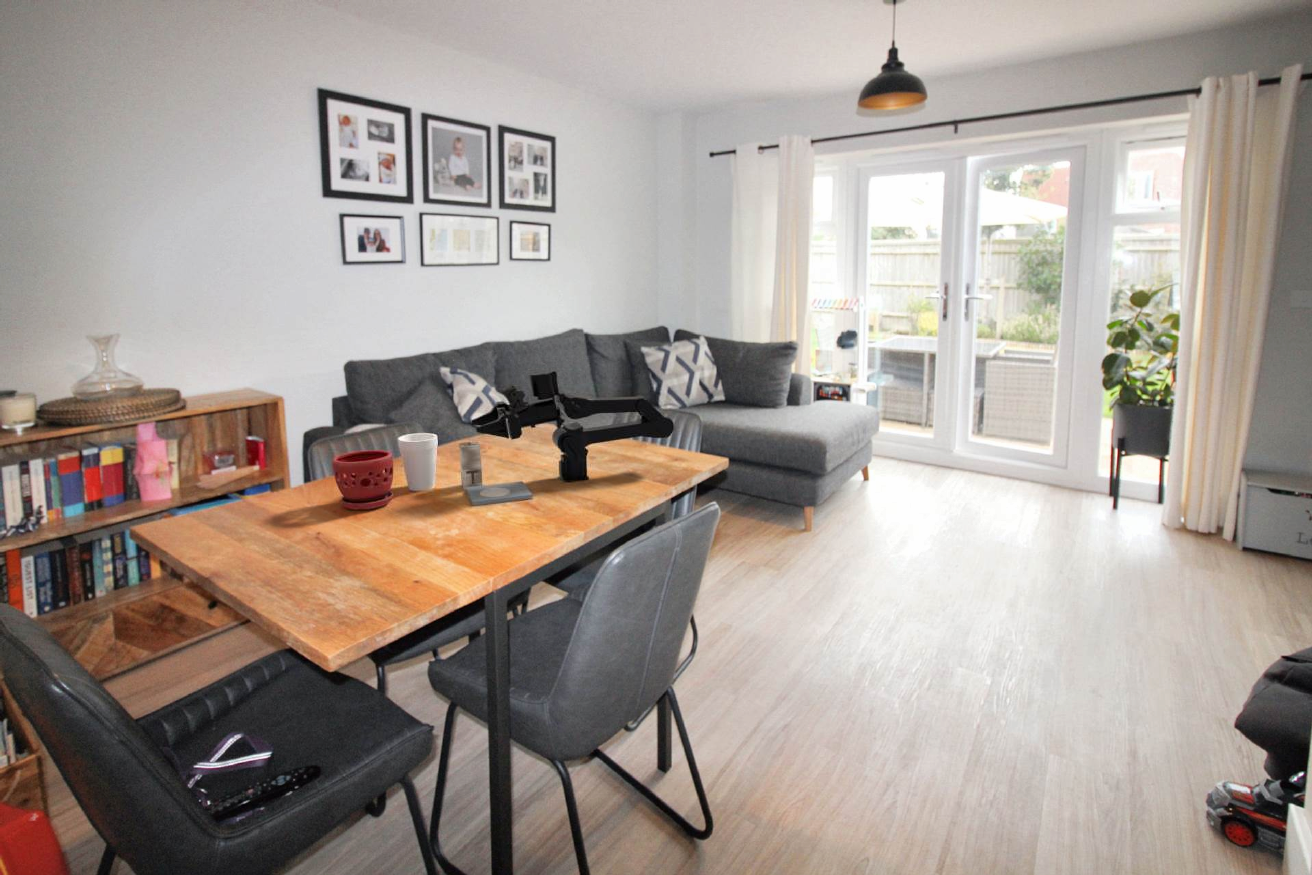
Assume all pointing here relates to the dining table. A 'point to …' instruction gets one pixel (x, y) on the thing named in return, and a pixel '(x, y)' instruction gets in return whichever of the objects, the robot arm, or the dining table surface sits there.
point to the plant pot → (364, 478)
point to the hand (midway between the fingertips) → (473, 426)
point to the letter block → (470, 464)
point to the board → (498, 493)
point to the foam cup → (419, 459)
